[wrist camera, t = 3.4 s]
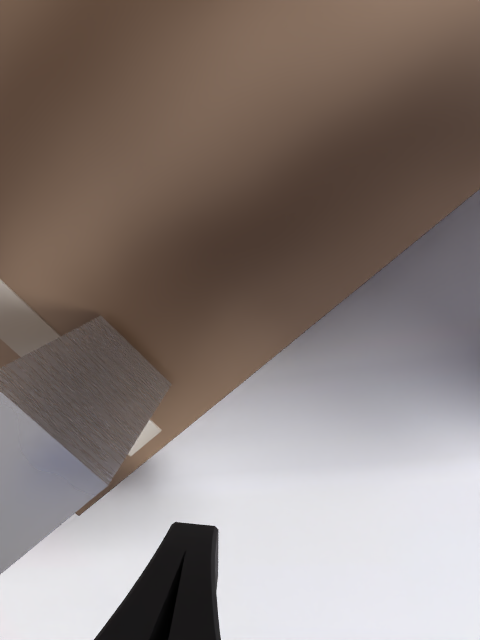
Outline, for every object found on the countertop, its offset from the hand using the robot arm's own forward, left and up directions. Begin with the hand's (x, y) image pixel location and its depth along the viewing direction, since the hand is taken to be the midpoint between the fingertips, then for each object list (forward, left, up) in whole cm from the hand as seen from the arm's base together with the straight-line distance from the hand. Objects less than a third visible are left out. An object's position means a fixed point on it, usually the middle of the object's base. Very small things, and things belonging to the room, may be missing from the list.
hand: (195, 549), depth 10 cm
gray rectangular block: (+5, 0, -2) cm, 6 cm away
